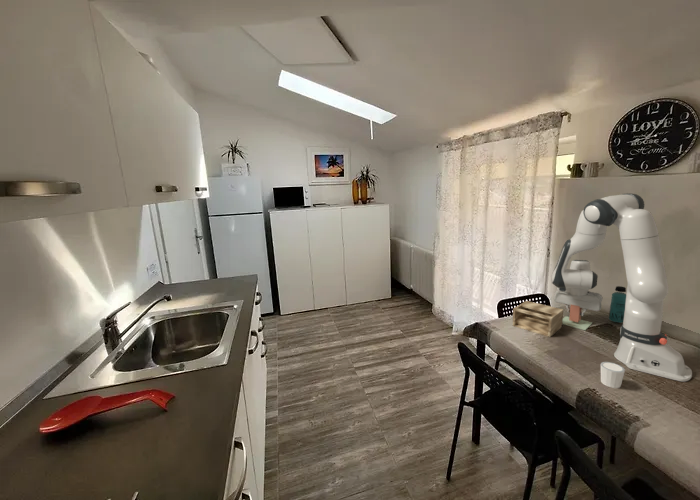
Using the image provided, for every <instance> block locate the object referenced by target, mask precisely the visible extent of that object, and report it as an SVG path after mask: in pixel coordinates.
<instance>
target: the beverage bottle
mask: <svg viewBox="0 0 700 500" xmlns="http://www.w3.org/2000/svg"><path fill="white" fill-rule="evenodd" d="M614 290H615V292H613V293H612V294H611V301H610V306H609V313H608V314H609V315H608V320H610V321H612V322H613V323H623V320H624V312H625V303H626V294H627V287H625V286H622V285H621V286H620V285H617V286H615V289H614Z"/></svg>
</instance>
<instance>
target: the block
mask: <svg viewBox="0 0 700 500" xmlns="http://www.w3.org/2000/svg"><path fill="white" fill-rule="evenodd" d="M569 308H570V313H569V316H568V317H569V320H570V321H574V322H579V321H580V320H582V316H580V312H583V308H580V306H576V305H570V306H569Z"/></svg>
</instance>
